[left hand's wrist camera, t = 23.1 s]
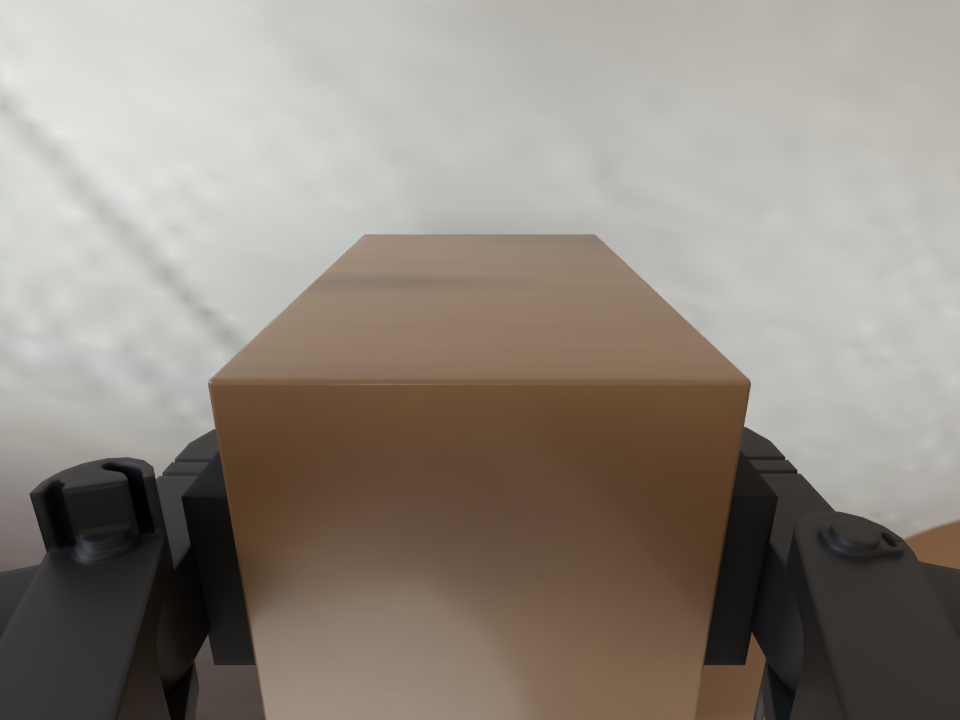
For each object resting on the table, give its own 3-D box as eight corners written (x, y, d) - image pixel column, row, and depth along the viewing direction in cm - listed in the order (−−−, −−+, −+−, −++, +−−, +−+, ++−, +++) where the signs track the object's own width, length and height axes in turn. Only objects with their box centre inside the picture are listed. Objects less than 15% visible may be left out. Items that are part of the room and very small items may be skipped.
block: (581, 446, 18) (687, 775, 9) (377, 446, 18) (272, 775, 9) (595, 234, 16) (753, 380, 7) (363, 234, 16) (204, 380, 7)
